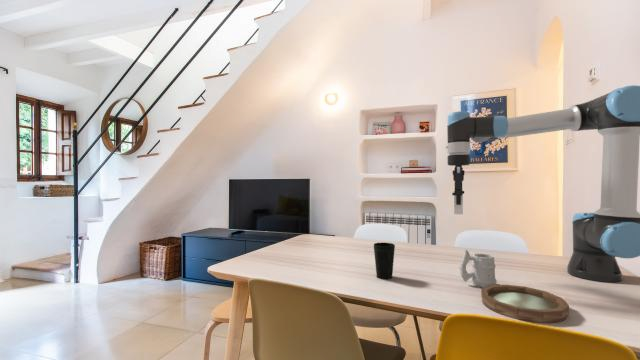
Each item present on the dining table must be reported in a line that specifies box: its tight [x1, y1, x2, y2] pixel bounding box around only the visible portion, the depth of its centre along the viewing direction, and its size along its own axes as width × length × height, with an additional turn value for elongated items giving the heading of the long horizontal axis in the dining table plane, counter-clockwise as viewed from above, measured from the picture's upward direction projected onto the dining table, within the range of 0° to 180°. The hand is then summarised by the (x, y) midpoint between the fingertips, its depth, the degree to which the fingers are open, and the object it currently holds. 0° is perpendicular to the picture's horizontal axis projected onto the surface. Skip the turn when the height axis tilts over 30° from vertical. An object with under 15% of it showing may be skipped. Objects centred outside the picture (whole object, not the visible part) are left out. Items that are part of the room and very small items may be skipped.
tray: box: [480, 284, 570, 324], centre depth 88 cm, size 20×20×3 cm
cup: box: [373, 242, 396, 280], centre depth 116 cm, size 8×8×12 cm
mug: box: [459, 249, 498, 289], centre depth 107 cm, size 8×12×12 cm, turn 90°
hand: (458, 212), depth 116 cm, fingers open, 13 cm apart
